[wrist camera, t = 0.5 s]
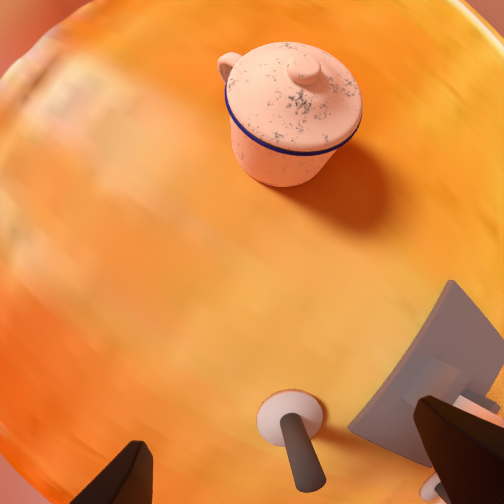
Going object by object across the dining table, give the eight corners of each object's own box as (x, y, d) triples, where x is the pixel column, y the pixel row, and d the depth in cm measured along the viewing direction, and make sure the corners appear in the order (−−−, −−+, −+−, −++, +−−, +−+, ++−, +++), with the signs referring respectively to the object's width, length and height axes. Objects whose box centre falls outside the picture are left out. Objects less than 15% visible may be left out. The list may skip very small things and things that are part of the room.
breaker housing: (427, 464, 24) (450, 487, 18) (347, 426, 24) (368, 458, 18) (505, 348, 25) (536, 356, 19) (448, 280, 25) (486, 282, 19)
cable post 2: (435, 496, 24) (466, 530, 14) (411, 497, 24) (443, 537, 14) (459, 466, 24) (496, 497, 14) (437, 465, 24) (476, 502, 14)
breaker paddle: (455, 414, 22) (510, 449, 12) (430, 396, 22) (491, 436, 12) (463, 402, 22) (520, 434, 13) (439, 383, 22) (503, 418, 13)
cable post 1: (300, 447, 24) (323, 514, 14) (245, 429, 24) (248, 499, 14) (331, 401, 24) (372, 458, 14) (276, 379, 24) (295, 439, 14)
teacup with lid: (347, 148, 25) (406, 83, 14) (281, 212, 25) (313, 168, 13) (257, 70, 25) (265, -16, 14) (188, 123, 25) (158, 41, 13)
